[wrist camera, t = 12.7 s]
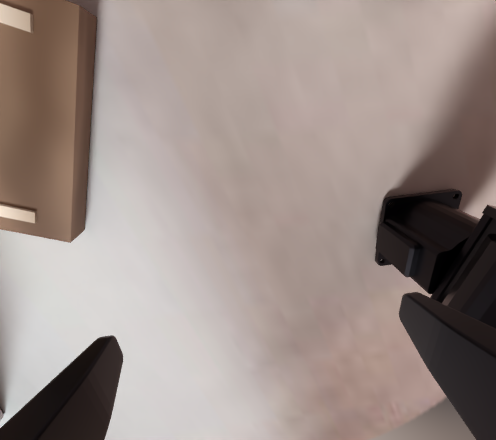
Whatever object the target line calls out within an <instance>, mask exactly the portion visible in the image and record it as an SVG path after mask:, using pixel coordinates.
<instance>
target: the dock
mask: <svg viewBox="0 0 496 440" xmlns="http://www.w3.org/2000/svg"><path fill="white" fill-rule="evenodd" d="M96 25H97V17H95V16H94V15H92V14H91V13H89V12H88V11H87V10H85V9H84V8H82V7H81V6H79V5H77V4H74V3H71V2H69V1H66V0H0V229H2V230H7V231H13V232H18V233H23V234H28V235H33V236H39V237H44V238H49V239H54V240H60V241H65V242H70V243H71V242H72V241H73V240H74V239H75V238H76V237H77V236H78V235H79V234H81V233H82V232H83V231H84V230H85V212H86V195H87V178H88V161H89V144H90V127H91V110H92V93H93V76H94V59H95V42H96Z"/></svg>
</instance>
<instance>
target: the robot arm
mask: <svg viewBox="0 0 496 440" xmlns="http://www.w3.org/2000/svg"><path fill="white" fill-rule="evenodd" d="M454 195H455V196H454ZM453 196H454V197H453ZM461 197H462V193H461V191H458V190H456V189H452V190H444V191H435V192H427V193H419V194H411V195H402V196H394V197H388V198H386V199H385V200H384V202H383V206H382V213H381V220H380V224H379V228H378V236H377V243H376V256H375V261H376V263H377V264H378V265H380V266H384V265H391V264H392V265H394V266H395V267H396V268H397V269H398V270H399V271H400V272H401V273H402V274H403V275H404V276H405V277H411V278H412V279H413V280H414V281H415V282H417V283H418V284H419V285H420V286H421V287H422V288H423V289H424V290H425V291H426V292H428V293H429V294H432V296H431V297H430V298H429V297H427V296H425V295H423V294H421V293H418V292H413V293H406V294H404V295H403V297H402V301H401V306H400V311H399V317H400V320H401V322H402V324H403V326H404V327H405V329H406V331H407V333H408V334H409V336H410V338H411V340H412V342H413V343H414V345H415V347H416V349H417V351H418V352H419V354H420V356H421V358H422V359H423V361H424V363H425V365H426V366H427V368H428V369H429V371H430V372H431V374H432V376H433V377H434V379H435V380H436V381H437V383H438V384H439V386H440V387H441V389H442V390H443V392H444V393H445V395H446V396H447V398H448V399H449V400H450V402H451V403H452V405H453V406H454V407H455V409H456V411H457V412H458V414H459V415H460V416H461V418H462V419H463V421H464V422H465V424H466V425H467V427H468V428H469V430H470V431H471V433H472V434H473V436H474V437H475V438H476V440H496V207H495V206H490V205H487V206H486V208H485V209H484V211H483V212H482V213H483V216H482V217H481V219H478V218H476V217H474V216H471V215H469V214H467V213H464V212H462V211H460V210H458V208H459V204H460V201H461ZM390 202H392V203H391V204H390V205H389V203H390ZM381 259H383V260H381ZM380 260H381V261H380ZM122 363H123V354H122V351H121V349H120V346H119V344H118V342H117V340H116V338H115V337H114V336H112V335H111V336H104V337H100V338H98V339H97V340H95V341H94V342H93V343H92V344H91V345H90V346H89V347H88V348H87V349H86V350H85V351H83V352H82V353H81V354H80V355H79V356H78V357H77V358H76V359H75V360H74V361H73V362H72V363H70V364H69V365H68V366H67V367H66V368H65V369H64V370H63V371H62V372H61V373H60V374H59V375H57V376H56V377H55V378H54V379H53V380H52V381H51V382H50V383H49V384H48V385H47V386H45V387H44V388H43V389H42V390H41V391H40V392H39V393H38V394H37V395H36V396H35V397H34V398H32V399H31V400H30V401H29V402H28V403H27V404H26V405H25V406H24V407H23V408H22V409H21V410H19V411H18V412H17V413H16V414H15V415H14V416H13V417H12V418H11V419H10V420H9V421H8V422H6V423H5V424H4V425H3V426H2V427H1V428H0V440H104V439H105V436H106V433H107V430H108V426H109V423H110V419H111V415H112V411H113V406H114V401H115V397H116V392H117V387H118V382H119V378H120V373H121V368H122Z"/></svg>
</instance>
